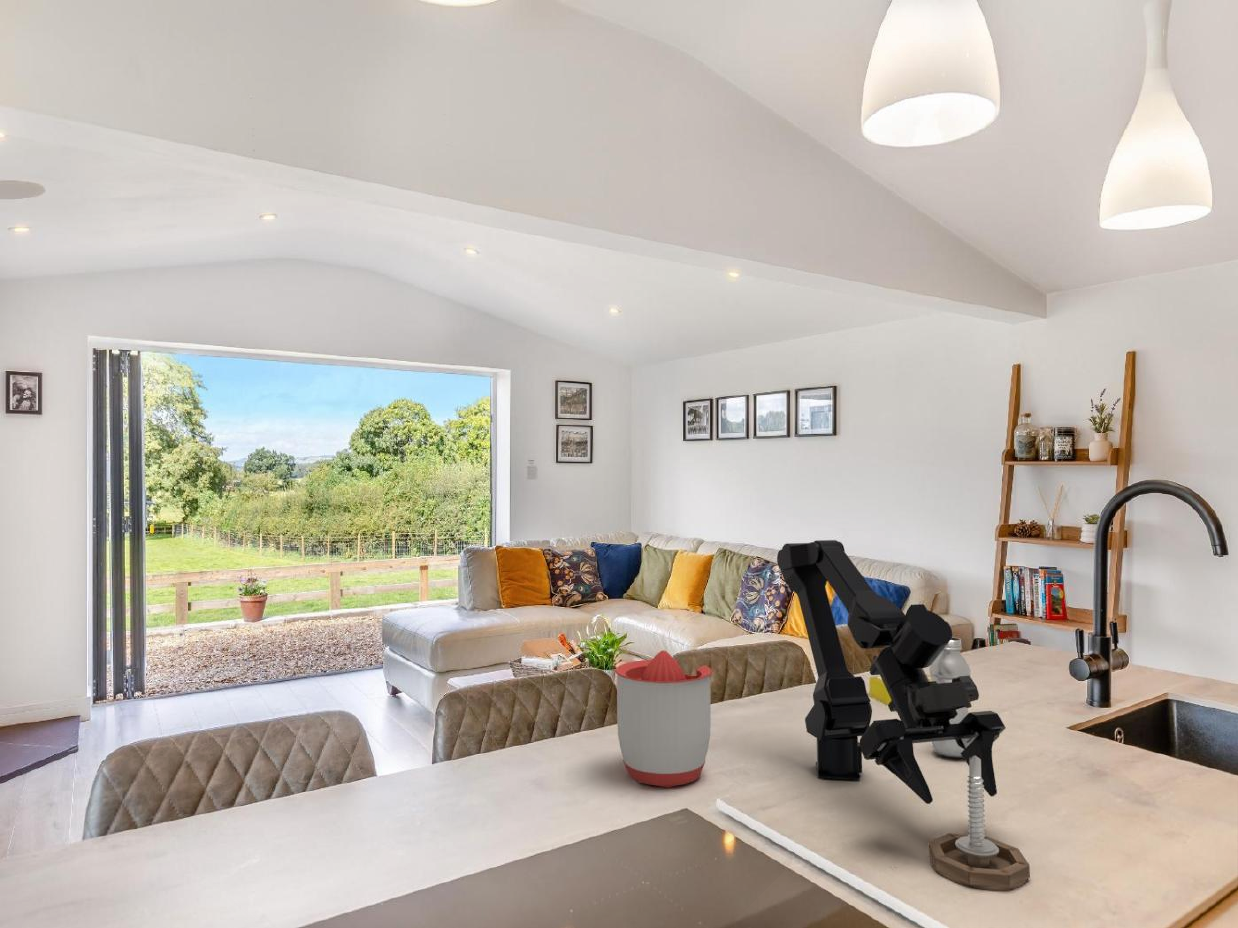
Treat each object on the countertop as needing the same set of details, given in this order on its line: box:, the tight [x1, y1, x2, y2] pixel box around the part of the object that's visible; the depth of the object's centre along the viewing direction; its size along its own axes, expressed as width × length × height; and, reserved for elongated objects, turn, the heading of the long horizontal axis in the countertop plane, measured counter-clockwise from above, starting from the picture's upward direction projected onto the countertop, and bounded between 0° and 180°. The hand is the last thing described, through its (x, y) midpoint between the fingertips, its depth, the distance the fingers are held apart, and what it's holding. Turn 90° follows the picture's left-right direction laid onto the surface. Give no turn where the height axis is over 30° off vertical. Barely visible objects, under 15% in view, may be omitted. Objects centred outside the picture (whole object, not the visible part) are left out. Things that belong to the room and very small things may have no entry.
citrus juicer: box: [614, 650, 713, 789], centre depth 127 cm, size 16×17×20 cm
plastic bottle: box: [928, 636, 971, 758], centre depth 135 cm, size 6×7×20 cm
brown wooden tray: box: [928, 832, 1031, 892], centre depth 95 cm, size 11×11×2 cm
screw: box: [955, 755, 999, 868], centre depth 95 cm, size 13×5×5 cm
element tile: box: [868, 673, 931, 706], centre depth 170 cm, size 15×15×5 cm
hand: (962, 798), depth 97 cm, fingers open, 9 cm apart
